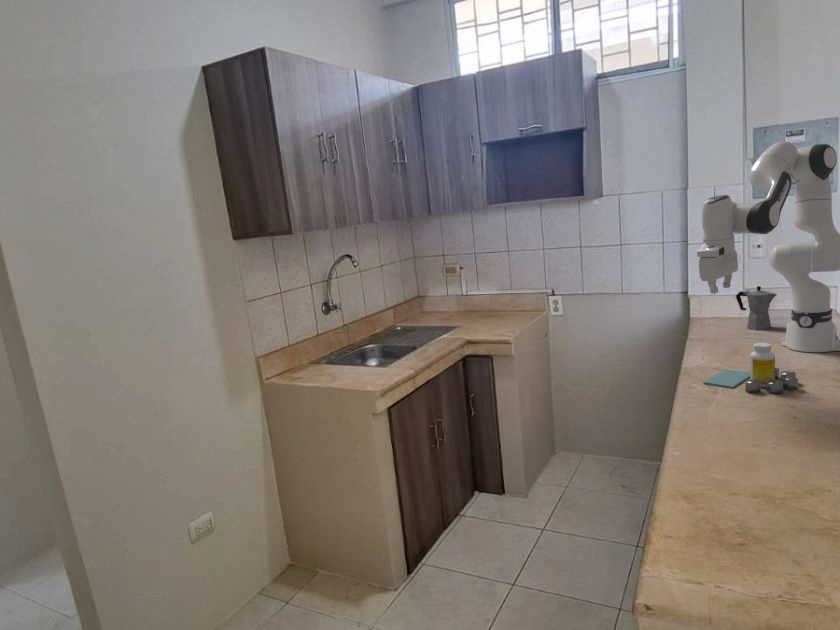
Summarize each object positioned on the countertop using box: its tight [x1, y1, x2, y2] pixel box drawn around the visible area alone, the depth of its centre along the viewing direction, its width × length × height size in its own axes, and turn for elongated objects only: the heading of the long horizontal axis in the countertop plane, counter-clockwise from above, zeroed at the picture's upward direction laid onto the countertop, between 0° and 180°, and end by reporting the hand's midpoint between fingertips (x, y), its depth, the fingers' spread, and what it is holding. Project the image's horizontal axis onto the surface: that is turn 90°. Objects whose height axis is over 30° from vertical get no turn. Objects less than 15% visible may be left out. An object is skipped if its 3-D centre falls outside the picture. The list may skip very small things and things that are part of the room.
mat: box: [703, 368, 750, 389], centre depth 183 cm, size 16×9×1 cm, turn 130°
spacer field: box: [744, 367, 799, 395], centre depth 172 cm, size 19×12×3 cm, turn 130°
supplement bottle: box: [749, 342, 776, 388], centre depth 174 cm, size 7×7×13 cm
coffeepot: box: [735, 285, 778, 331], centre depth 240 cm, size 15×9×18 cm, turn 44°
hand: (720, 290), depth 182 cm, fingers open, 8 cm apart
